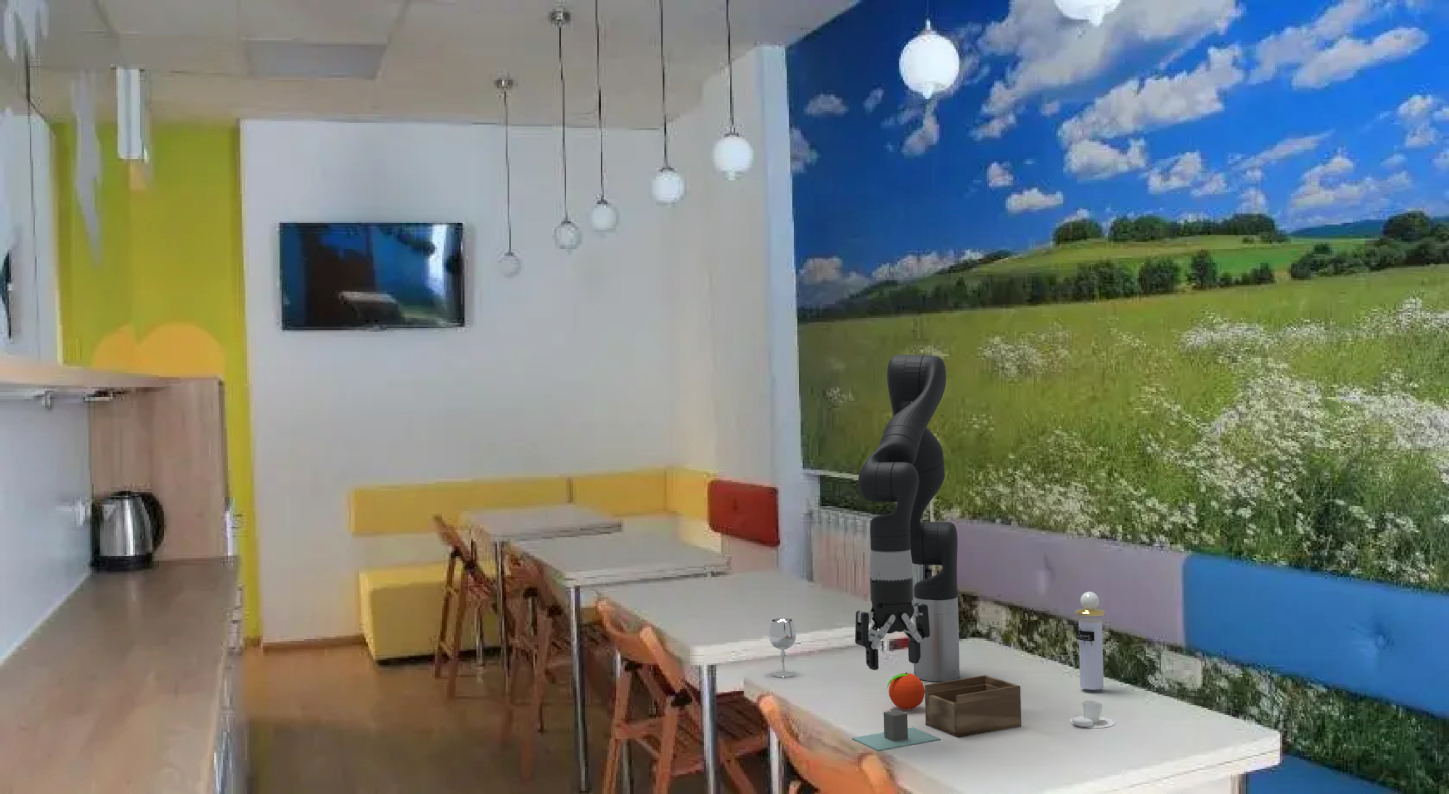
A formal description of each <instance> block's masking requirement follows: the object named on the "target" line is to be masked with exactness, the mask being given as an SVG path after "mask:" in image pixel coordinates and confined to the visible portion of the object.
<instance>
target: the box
mask: <svg viewBox="0 0 1449 794" xmlns="http://www.w3.org/2000/svg"><path fill="white" fill-rule="evenodd" d="M924 689H925V694H924V707H925V709H924V710H925V711H924V712H925V714H924V715H925V717H924V719H925V725H926V726H927V727H931V728H933V729H935V730H938V731H941V732H943V733H946V734H949V735H951V736H953V737H956V738H958V739H961V738H966V737H971V736H976V735H977V736H978V735H982V734H987V733H993V732H997V731H1004V730H1009V729H1014V728H1020V727H1022V705H1021V703H1022V700H1021V699H1022V698H1021V685H1018V684H1016V683H1013V682H1012V683H1011V682H1009V681H1007V680H1003V679H999V678H996V677H993V676H990V675H987V674H983V675H978V676H977V675H976V676H973V677H972V676H971V677H965V678H958V679H956V680H951V681H938V682H934V683H933V682H932V683H926V684H924Z"/></svg>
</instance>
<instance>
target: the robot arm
mask: <svg viewBox="0 0 1449 794" xmlns="http://www.w3.org/2000/svg"><path fill="white" fill-rule="evenodd" d="M886 379H887V382H886V383H887V388H888V394H889V395H888V396H889V401H890V405H891V410H892V411H891V412H892V417H891V418H890V420H889V421H888V422H887V424H886V425H885V426H884V427H885V428H884V429H883V433H882V436H881V439H880V441H879V445H878V446H877V447H876V448H875V450H874V451H873V452H872V453H871V454H870V456H869V457H868V459H866V461H865V462H864V463H863V465H862V467H861V468H860V472H859V473H858V477H857V488H858V492H859V493H860V496H862V498H863V499H864V500H865V501H868V502H872V503H873V502H874V503H896V508H895V509H894V511H893V512H891V513H887V514H886V513H885V514H882V515H876V516H874V517H873V518H872V519H870V524H869V534H870V535H869V537H870V538H869V539H870V542H869V543H870V544H869V545H870V555H869V589H870V591H869V592H870V593H869V595H870V602H871V608H870V611H863V610H857V611H856V612H855V628H854V629H855V632H854V633H855V635H854V636H855V637H854V638H855V640H854V643H855V645H857V646H861V647H864V648H865V664H866V666H867V667H868V668H869V669H870V670H871V671H872V670H873V671H878V670H879V649H878V645H879V644H880V642H881V641H882V640H884V638H885V636H886V635H887V634H890V635H891V634H894V633H895V632H897V633H902V632H903V633H904V634H905V636H906V637H907V638H908V641H907V648H908V649H907V650H908V653H907V654H908V656H907V657H908V662H909V663H911V664H913V675H915V676H917V677H918V678H919V679H920V680H921V681H922V680H924V681H928V682H929V681H930V682H945V681H951V680H958V679H960V677H961V675H960V635H959V634H960V629H959V628H960V627H959V595H958V594H959V593H958V544H959V543H958V542H959V541H958V540H959V539H958V531H957V528H956V527H957V526H955V524H954V523H953V522H950V521H921V519H922V516H923V515H924V512H925V510H926V508H927V506H928V505H929V504H930V502H931V501H932V499H934V497H935V496H936V494H937V493H938V492H939V491H940V489H941V486H942V485H943V483H944V480H945V476H946V470H945V457H944V451H943V448H942V445H941V444H940V441H939V440H938V439H937V438H936V436H935V435H934V434H933V432H932V431H931V430H930V429H929V428H928V424H929V423H930V421H931V420H932V417H933V416H934V414H935V412H936V410H937V409H938V406H939V404H940V403H941V400H942V398H943V395H944V394H945V389H946V385H947V384H946V383H947V370H946V365H945V362H944V359H942V358H941V357H940V356H937V355H931V354H930V355H928V354H897V355H893V356H892V357H891V358H890V360H889V361H888V363H887V370H886ZM913 564H914V565H919V566H941V570H940V571H939V572H938V573H937V574H935V575H933V576H931V577H929V578H926V579H922V580H919V581H918V582H916V583H915V584H914V578H913V576H914V575H913ZM912 601H913V602H914V605H913V603H912ZM913 615H914V623H913V621H912V620H911V619H912V618H913ZM872 621H873V622H872ZM871 622H872V624H871V625H870V623H871Z"/></svg>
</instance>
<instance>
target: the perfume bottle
mask: <svg viewBox="0 0 1449 794" xmlns="http://www.w3.org/2000/svg"><path fill="white" fill-rule="evenodd" d="M1079 603H1080V605H1081V607H1082V608H1077V609H1075V610H1074V613H1075V615H1078V616H1083V617H1101V616H1102V617H1103V616H1105V615H1106V611H1105V610H1104V609H1100V608H1098V606H1099V605H1100V599H1099V597H1098V594H1096V593H1095V592H1093V591H1086V592H1084V593H1083V594H1082V595H1081V596H1080V602H1079ZM1075 626H1077V624H1075ZM1075 639H1076V640H1077V641H1078V647H1079V648H1078V653H1079V656H1078V657H1079V686H1080V688H1082V689H1085V690H1093V691H1095V690H1102V689H1104V687H1105V686H1104V653H1103V651H1104V650H1103V649H1104V648H1103V647H1104V645H1103V621H1102V619H1099V618H1080V619H1078V627H1076V628H1075Z"/></svg>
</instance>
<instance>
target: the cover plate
mask: <svg viewBox="0 0 1449 794" xmlns="http://www.w3.org/2000/svg"><path fill="white" fill-rule="evenodd" d="M851 740H853V741H854V742H858V743H860V744H862V745H863V746H866V747H868V748H870V749H872V750H875V751H876V752H882V751H888V750H893V749H894V750H895V749H898V748H904V747H909V746H915V745H921V744H926V743H932V742H937V741H941V738H940V737H938V736H935V735H932V734H931V733H928V732H926V731H923V730H921V729H918V728H916V727H914V726H912V727H909V726H908V713H906V712H904V711H902V710H899V709H894V710H889V711H884V712H883V731H882V732H878V733H871V734H867V735H861V736H856V737H852V738H851Z"/></svg>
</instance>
